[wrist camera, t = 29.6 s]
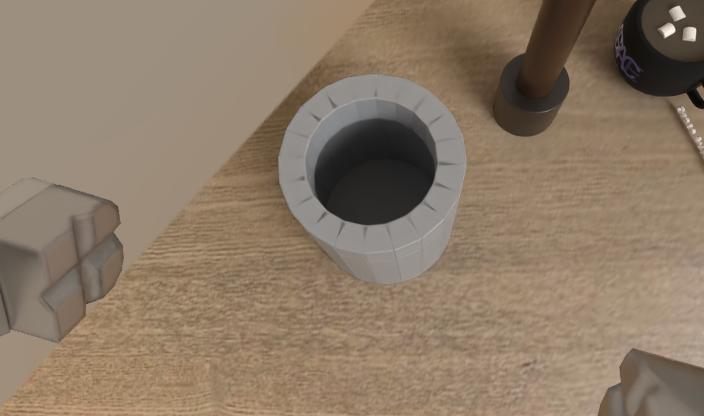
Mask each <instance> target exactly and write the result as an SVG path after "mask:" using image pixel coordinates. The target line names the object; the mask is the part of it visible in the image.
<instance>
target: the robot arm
mask: <svg viewBox="0 0 704 416" xmlns="http://www.w3.org/2000/svg"><path fill="white" fill-rule="evenodd" d="M119 225H120V217H119V210H118V206H117V205H115V204H114V203H113V202H112V201H109V200H107V199H103V198H100V197H97V196H94V195H90V194H87V193H84V192H80V191H77V190H74V189H71V188H68V187H64V186H61V185H56V184H53V183H50V182H47V181H43V180H40V179H37V178H23V179H21V180H19V181H18V182H16V183H14V184H13V185H12V186H10V187H8V188H7V189H5V190H3V191H2V192H1V193H0V336H3V335H5V334H7V333H9V332H10V329H11V330H15V331H18V332H21V333H25V334H28V335H31V336H35V337H38V338H42V339H45V340H48V341H51V342H55V343H59V342H60V341H61V340H62V339H63V338H64V337H65V336H66V335H67V334H68V333H69V332H70V331H71V330H72V329H73V328H74V327H75V326H76V325H77V324H78V323H79V322H80V321H81V320H82V319H83V318H84V317H85V316H86V304H88V303H91V302H94V301H97V300H99V299H102V298H104V297H105V296H106V294H107V293H108V292H109V291H110V290H111V289H112V288H113V287H114V285H115V283H116V281H117V279H118V277H119V275H120V273H121V271H122V265H123V259H124V256H123V245H122V244H121V242H120V241H119V239H118V238H117V237H116V235H115V234H114V231H115V229H116V228H117V227H118V226H119ZM619 368H620V377H621V383H619V384H617V385H615V386H612V387H610V388H608V390H607V392H606V394H605V396H604V398H603V400H602V402H601V404H600V408H599V412H598V416H704V368H703V367H699V366H695V365H692V364H688V363H684V362H681V361H677V360H674V359H670V358H666V357H663V356H659V355H656V354H652V353H648V352H645V351H641V350H637V349H634V348H633V349H632V350H631V351H630V352H629V353H628V354H627V355H626V356H625V358H624V360H623V362H622V363H621V365H620V367H619Z"/></svg>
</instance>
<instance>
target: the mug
mask: <svg viewBox="0 0 704 416" xmlns="http://www.w3.org/2000/svg"><path fill="white" fill-rule="evenodd" d="M614 51H615V61H616V64H617V67H618V69H619V72H620V74H621V75H622V76H623V78H624V79H625V81H626V82H627V83H629V84H630V85H631V86H632V87H634V88H635V89H637V90H639V91H641V92H643V93H645V94H649V95H653V96H675V95H679V94H683V93H687V95H688V97H689V98H690V100H691V101H692V103H693V104H694V105H695V106H696V107H697V108H700V109H704V100H703V99H702V98H701V96H700V95H699V93H698V91H697V90H696V88H697V87H699V86H701V85H703V87H704V0H637V1H636V2H635V3H634V4H633V6H632V7H631V9H630V10H629V12H628V14H627V16H626V17H625V19H624V21H623V22H622V24H621V26H620V28H619V30H618V32H617V37H616V41H615V46H614ZM680 108H681V109H680ZM681 110H682V112H681ZM677 111H678V113H679V115H680V114H682V113H683V111H685V108H684V107H683V106H679V107H678V108H677ZM683 116H684V117H687V115H686V113H685V114H683V115H681V116H680V117H683ZM689 121H690V120H689V118H688V117H687V118H685V119H683V122H684V124H685V125H686V124H687V125H686V127H687V129H690V130H689V133H690V134H691V135H692V134H694V133H695V132H696V131H695V129H694V128H692V129H691V127H693V125H692V124H691V123H689V124H688V122H689ZM693 140H694V142H695V143H699V142H700V140H702V138H701V137H700V136H698V137H696V138H695V139H693ZM701 144H702V142H701V143H699V144H698V145H697V147H698V148H699V150H700V149H702V148H704V146H702V147H701ZM699 153H701V154H702V156H704V150H702V151H701V152H699Z"/></svg>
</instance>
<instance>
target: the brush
mask: <svg viewBox="0 0 704 416" xmlns="http://www.w3.org/2000/svg"><path fill="white" fill-rule="evenodd" d="M595 1H596V0H543V2H542V5H541V8H540V11H539V14H538V17H537V20H536V23H535V26H534V28H533V31H532V34H531V37H530V40H529V43H528V46H527V49H526V52H525V53H524V54H521V55H519V56H517V57H515V58H514V59H512V60H511V61H510V62H509V63H508V64H507V65H506V67H505V68H504V70H503V72H502V75H501V79H500V82H499V86H498V89H497V93H496V96H495V100H494V104H493V110H494V115H495V118H496V120H497V122H498V123H499V125H500V126H501V127H502V128H503V129H504V130H506V131H507V132H509V133H511V134H513V135H517V136H525V137H526V136H533V135H537V134H539V133H541V132H543V131H544V130H545V129H547V128H548V127H549V126H550V124H551V123H552V121H553V119H554V118H555V116H556V114H557V112H558V110H559V109H560V107H561V105H562V103H563V101H564V100H565V98H566V96H567V94H568V90H569V77H568V73H567V71H566V69H565V68H564V65H565V63H566V60H567V58H568V56H569V54H570V52H571V50H572V48H573V46H574V44H575V42H576V40H577V38H578V36H579V34H580V32H581V30H582V28H583V26H584V24H585V22H586V20H587V18H588V16H589V14H590V11H591V9H592V7H593V5H594V3H595Z"/></svg>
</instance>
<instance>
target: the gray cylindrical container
mask: <svg viewBox="0 0 704 416" xmlns="http://www.w3.org/2000/svg"><path fill="white" fill-rule="evenodd" d="M466 165H467V162H466V154H465V146H464V138H463V135H462V133H461V131H460V129H459V127H458V125H457V123H456V121H455V119H454V117H453V115H452V113H451V112H450V110H449V109H448V108H447V107H446V106H445V105H444V104H443V103H442V102H441V101H440V100H439V99H438V98H437V97H436V96H435V95H434V94H433V93H432V92H430V90H428V89H426V88H424V87H422V86H420V85H418V84H416V83H414V82H412V81H410V80H408V79H404V78H400V77H394V76H389V75H383V74H378V75H377V74H368V75H359V76H351V77H347V78H344V79H342V80H340V81H337V82H335V83H333V84H330V85H328V86H326V87H324V88H323V89H321V90H320V91H319V92H317V93H316V94H315V95H314V96H313V97H311V98H310V99H309V100H308V101H307V102H305V103H304V104H303V105H302V107H300V108H299V110H298V111H297V113H296V114H295V116H294V117H293V119H292V120H291V122H290V124H289V125H288V127H287V128H286V131H285V134H284V137H283V141H282V144H281V148H280V152H279V157H278V170H279V184H280V188H281V190H282V193H283V195H284V198H285V200H286V203H287V205H288V208H289V210H290V212H291V213H292V214H293V215H294V217H295V218H296V219H297V220H298V221H299V222H300V224H301V225H302V226H303V227H304V228H305V229H306V231H307V232H308V233H309V234H310V235H311V236H312V237H313V238H314V240H315V241H316V242H317V243H318V244H319V245H320V246H321V247H322V248H323V250H324V251H325V252H326V253H327V254H328V255H329V256H330V257H331V258H332V260H333V261H334V262H335V263H336V264H337V265H338V266H339V267H340V268H341V269H342V270H344V271H345V272H347V273H348V274H350V275H352V276H353V277H355V278H357V279H360V280H363V281H365V282H369V283H374V284H384V285H385V284H396V283H402V282H405V281H408V280H411V279H413V278H415V277H417V276H419V275H421V274H422V273H424V272H425V271H427V270H428V269H429V268H430V267H431V266H432V265H433V264H434V263H435V262H436V261H437V260H438V259H439V257H440V256H441V254H442V253H443V252H444V250H445V248H446V246H447V244H448V242H449V240H450V236H451V232H452V228H453V224H454V220H455V215H456V211H457V207H458V203H459V199H460V195H461V190H462V186H463V181H464V176H465V171H466Z"/></svg>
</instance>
